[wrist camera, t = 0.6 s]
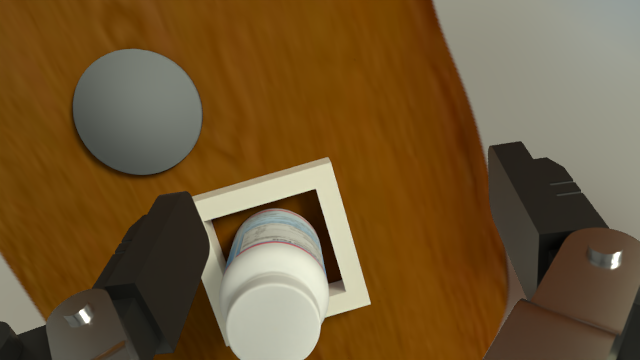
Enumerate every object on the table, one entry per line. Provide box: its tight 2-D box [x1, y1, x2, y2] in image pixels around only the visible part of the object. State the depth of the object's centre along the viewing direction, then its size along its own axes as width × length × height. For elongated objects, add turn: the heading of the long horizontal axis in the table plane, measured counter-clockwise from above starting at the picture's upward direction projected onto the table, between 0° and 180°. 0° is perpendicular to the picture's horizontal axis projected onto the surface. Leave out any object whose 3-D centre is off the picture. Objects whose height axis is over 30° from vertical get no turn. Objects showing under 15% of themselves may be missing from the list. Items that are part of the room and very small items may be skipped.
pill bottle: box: [219, 209, 329, 360], centre depth 28 cm, size 6×6×11 cm
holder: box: [192, 157, 371, 346], centre depth 33 cm, size 10×10×2 cm
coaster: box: [73, 49, 203, 175], centre depth 31 cm, size 8×8×1 cm
